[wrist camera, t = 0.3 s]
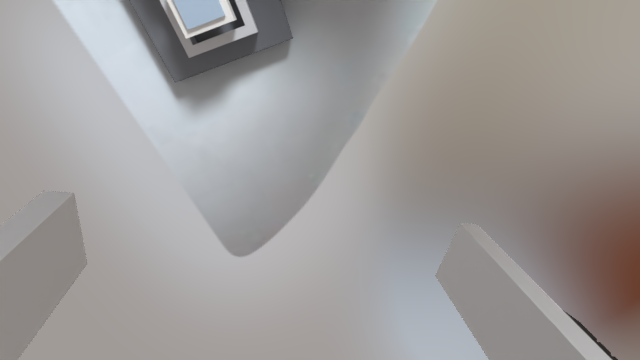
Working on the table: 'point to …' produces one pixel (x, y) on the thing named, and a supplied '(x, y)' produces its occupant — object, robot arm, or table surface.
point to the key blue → (201, 15)
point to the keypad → (212, 35)
